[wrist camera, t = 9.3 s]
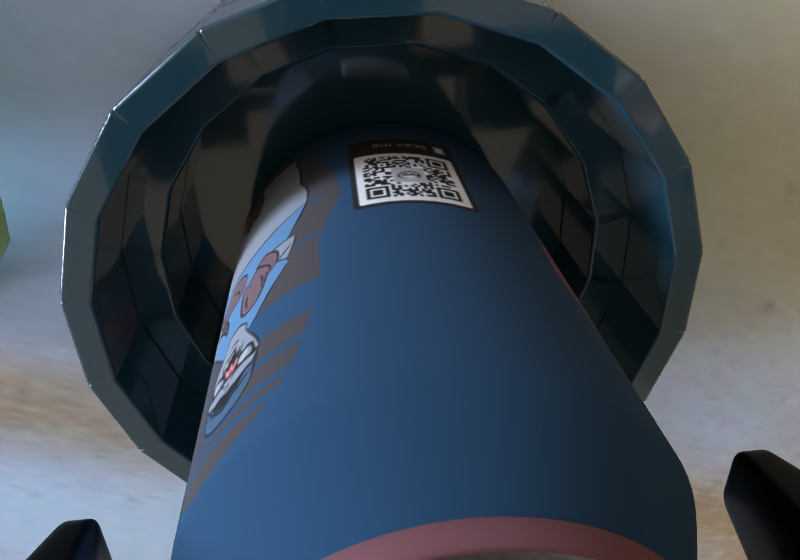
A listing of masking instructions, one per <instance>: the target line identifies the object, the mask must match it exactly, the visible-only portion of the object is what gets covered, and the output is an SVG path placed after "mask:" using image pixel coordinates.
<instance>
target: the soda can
mask: <svg viewBox="0 0 800 560" xmlns="http://www.w3.org/2000/svg"><path fill="white" fill-rule="evenodd" d="M171 560H697V522H696V509H695V502H694V497H693V492H692V488H691V485H690V482H689V479H688V476H687V474H686V471H685V469H684V467H683V465H682V463H681V461H680V460H679V458H678V456H677V455H676V453H675V452H674V450H673V448H672V447H671V445H670V444H669V442H668V441H667V439H666V437H665V436H664V434H663V433H662V431H661V430H660V428H659V426H658V425H657V423H656V422H655V420H654V418H653V417H652V415H651V414H650V412H649V411H648V409H647V407H646V406H645V404H644V403H643V401H642V400H641V398H640V396H639V395H638V393H637V392H636V390H635V389H634V387H633V385H632V384H631V382H630V381H629V379H628V377H627V376H626V374H625V373H624V371H623V370H622V368H621V366H620V365H619V363H618V362H617V360H616V359H615V357H614V355H613V354H612V352H611V351H610V349H609V348H608V346H607V344H606V343H605V341H604V340H603V338H602V336H601V335H600V333H599V332H598V330H597V329H596V327H595V325H594V324H593V322H592V321H591V319H590V318H589V316H588V314H587V313H586V311H585V310H584V308H583V306H582V305H581V303H580V302H579V300H578V299H577V297H576V295H575V294H574V292H573V291H572V289H571V288H570V286H569V284H568V283H567V281H566V280H565V278H564V277H563V275H562V273H561V272H560V270H559V269H558V267H557V265H556V264H555V262H554V261H553V259H552V258H551V256H550V254H549V253H548V251H547V250H546V248H545V247H544V245H543V243H542V242H541V240H540V239H539V237H538V236H537V234H536V232H535V231H534V229H533V228H532V226H531V224H530V223H529V221H528V220H527V218H526V217H525V215H524V213H523V212H522V210H521V209H520V207H519V206H518V204H517V202H516V201H515V199H514V198H513V196H512V195H511V193H510V191H509V190H508V188H507V187H506V185H505V183H504V182H503V180H502V179H501V178H500V176H499V175H498V174H497V173H496V171H495V170H494V169H493V168H492V167H491V166H490V165H489V164H488V163H487V162H486V161H485V160H484V159H483V158H482V157H480V156H479V155H478V154H476V153H475V152H474V151H473V150H471V149H470V148H468V147H466V146H465V145H463V144H462V143H460V142H458V141H456V140H454V139H452V138H450V137H448V136H445V135H443V134H441V133H438V132H435V131H432V130H428V129H424V128H420V127H415V126H409V125H399V124H376V125H366V126H359V127H355V128H350V129H346V130H343V131H340V132H336V133H333V134H331V135H328V136H326V137H323V138H321V139H319V140H317V141H315V142H313V143H311V144H310V145H308V146H306V147H305V148H303V149H301V150H300V151H299V152H297V153H296V154H294V155H293V156H292V157H290V158H289V159H288V160H287V161H286V162H284V163H283V164H282V165H281V166H280V167H279V168H278V169H277V170H276V171H275V172H274V173H273V175H272V176H271V177H270V178H269V179H268V180H267V182H266V183H265V185H264V186H263V187H262V189H261V190H260V192H259V193H258V195H257V197H256V198H255V200H254V202H253V204H252V206H251V209H250V211H249V214H248V216H247V219H246V222H245V226H244V229H243V234H242V238H241V243H240V247H239V252H238V256H237V261H236V265H235V270H234V275H233V279H232V284H231V288H230V293H229V297H228V302H227V306H226V311H225V315H224V320H223V324H222V329H221V333H220V338H219V342H218V347H217V351H216V356H215V360H214V365H213V369H212V374H211V378H210V383H209V387H208V392H207V396H206V401H205V405H204V410H203V414H202V419H201V423H200V428H199V432H198V437H197V441H196V446H195V450H194V455H193V459H192V464H191V468H190V473H189V477H188V482H187V486H186V491H185V495H184V500H183V504H182V509H181V513H180V518H179V522H178V527H177V531H176V536H175V540H174V545H173V550H172V556H171Z"/></svg>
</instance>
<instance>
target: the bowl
mask: <svg viewBox="0 0 800 560" xmlns="http://www.w3.org/2000/svg"><path fill="white" fill-rule="evenodd" d="M376 124H399V125H409V126H415V127H420V128H424V129H428V130H432V131H435V132H438V133H441V134H443V135H445V136H448V137H450V138H452V139H454V140H456V141H458V142H460V143H462V144H463V145H465V146H466V147H468V148H470V149H471V150H473V151H474V152H475V153H476V154H478V155H479V156H480V157H482V158H483V159H484V160H485V161H486V162H487V163H488V164H489V165H490V166H491V167H492V168H493V169H494V170H495V171H496V173H497V174H498V175H499V176H500V178H501V179H502V180H503V182H504V183H505V185H506V187H507V188H508V190H509V191H510V193H511V195H512V196H513V198H514V199H515V201H516V202H517V204H518V206H519V207H520V209H521V210H522V212H523V213H524V215H525V217H526V218H527V220H528V221H529V223H530V224H531V226H532V228H533V229H534V231H535V232H536V234H537V236H538V237H539V239H540V240H541V242H542V243H543V245H544V247H545V248H546V250H547V251H548V253H549V254H550V256H551V258H552V259H553V261H554V262H555V264H556V265H557V267H558V269H559V270H560V272H561V273H562V275H563V277H564V278H565V280H566V281H567V283H568V284H569V286H570V288H571V289H572V291H573V292H574V294H575V295H576V297H577V299H578V300H579V302H580V303H581V305H582V306H583V308H584V310H585V311H586V313H587V314H588V316H589V318H590V319H591V321H592V322H593V324H594V325H595V327H596V329H597V330H598V332H599V333H600V335H601V336H602V338H603V340H604V341H605V343H606V344H607V346H608V348H609V349H610V351H611V352H612V354H613V355H614V357H615V359H616V360H617V362H618V363H619V365H620V366H621V368H622V370H623V371H624V373H625V374H626V376H627V377H628V379H629V381H630V382H631V384H632V385H633V387H634V389H635V390H636V392H637V393H638V395H639V396H640V398H641V400H642V401H645V400H646V398H647V397H648V395H649V393H650V391H651V390H652V388H653V386H654V384H655V383H656V381H657V379H658V378H659V376H660V374H661V372H662V371H663V369H664V367H665V365H666V364H667V362H668V360H669V359H670V357H671V355H672V353H673V352H674V350H675V348H676V346H677V345H678V343H679V341H680V340H681V338H682V336H683V334H684V331H685V330H686V326H687V321H688V317H689V312H690V308H691V303H692V299H693V294H694V289H695V285H696V280H697V276H698V271H699V267H700V262H701V258H702V253H703V252H702V241H701V233H700V226H699V219H698V211H697V204H696V197H695V189H694V182H693V175H692V167H691V164H690V163H689V158H688V156H687V155H686V153H685V151H684V149H683V148H682V146H681V144H680V142H679V141H678V139H677V137H676V135H675V134H674V132H673V130H672V128H671V127H670V125H669V123H668V121H667V119H666V118H665V116H664V114H663V112H662V111H661V109H660V107H659V105H658V104H657V102H656V100H655V98H654V97H653V95H652V93H651V91H650V90H649V88H648V86H647V84H646V82H645V81H644V80H642V78H641V76H640V75H639V74H638V73H636V72H635V71H634V70H633V69H631V68H630V67H629V66H627V65H626V64H625V63H624V62H622V61H621V60H620V59H619V58H617V57H616V56H615V55H614V54H612V53H611V52H610V51H609V50H607V49H606V48H605V47H604V46H602V45H601V44H600V43H598V42H597V41H596V40H595V39H593V38H592V37H591V36H590V35H588V34H587V33H586V32H585V31H583V30H582V29H581V28H580V27H578V26H577V25H576V24H575V23H573V22H572V21H571V20H569V19H568V18H567V17H566V16H564V15H563V14H562V13H560V12H558V11H556V10H554V9H553V8H551V7H549V6H547V5H544V4H542V3H540V2H538V1H536V0H222V1H221V2H220V3H219V4H218V5H217V6H216V7H215V8H214V9H213V10H212V11H211V12H209V13H208V14H207V15H206V16H205V17H204V18H203V19H202V20H201V21H200V22H199V23H198V24H197V25H195V26H194V27H193V28H192V29H191V30H190V31H189V32H188V33H187V34H186V35H185V36H184V37H183V38H181V39H180V40H179V41H178V42H177V43H176V44H175V45H174V46H173V47H172V48H171V49H170V50H169V51H167V52H166V53H165V54H164V55H163V56H162V57H161V58H160V59H159V60H158V61H157V62H156V64H155V65H154V66H153V67H152V68H151V69H150V70H149V71H148V72H147V73H146V74H145V75H144V76H143V77H142V78H141V79H140V80H139V81H138V82H137V83H136V84H135V85H134V86H133V87H132V88H131V89H130V90H129V91H128V92H127V93H126V94H125V95H124V96H123V98H122V99H121V100H120V101H119V102H118V103H117V104H116V105H115V106H114V107H113V109H112V110H111V111H110V112H109V114H108V116H107V118H106V120H105V122H104V124H103V126H102V128H101V130H100V133H99V135H98V137H97V139H96V141H95V143H94V145H93V147H92V149H91V151H90V153H89V156H88V158H87V160H86V162H85V164H84V166H83V168H82V170H81V172H80V174H79V176H78V179H77V181H76V183H75V185H74V187H73V189H72V191H71V193H70V195H69V197H68V199H67V202H66V207H65V212H64V231H63V249H62V267H61V286H60V299H61V306H62V309H63V312H64V315H65V318H66V321H67V324H68V327H69V330H70V333H71V336H72V339H73V342H74V344H75V347H76V350H77V353H78V356H79V359H80V362H81V365H82V368H83V371H84V374H85V377H86V380H87V383H88V384H89V386H90V388H91V389H92V391H93V392H94V393H95V394H96V396H97V397H98V398H99V399H100V401H101V402H102V403H103V405H104V406H105V407H106V408H107V410H108V411H109V412H110V413H111V415H112V416H113V417H114V418H115V420H116V421H117V422H118V423H119V425H120V426H121V427H122V428H123V430H124V431H125V432H126V433H127V435H128V436H129V437H130V439H131V440H132V441H133V442H134V444H135V445H136V446H137V447H138V449H140V450H141V451H142V452H143V453H144V454H146V455H147V456H149V457H150V458H151V459H153V460H154V461H156V462H157V463H159V464H160V465H162V466H163V467H165V468H166V469H168V470H169V471H170V472H172V473H173V474H175V475H176V476H178V477H179V478H181V479H182V480H184V481H185V482H188V477H189V473H190V468H191V464H192V459H193V455H194V450H195V446H196V441H197V437H198V432H199V428H200V423H201V419H202V414H203V410H204V405H205V401H206V396H207V392H208V387H209V383H210V378H211V374H212V369H213V365H214V360H215V356H216V351H217V347H218V342H219V338H220V333H221V329H222V324H223V320H224V315H225V311H226V306H227V302H228V297H229V293H230V288H231V284H232V279H233V275H234V270H235V265H236V261H237V256H238V252H239V247H240V243H241V238H242V234H243V229H244V226H245V222H246V219H247V216H248V214H249V211H250V209H251V206H252V204H253V202H254V200H255V198H256V197H257V195H258V193H259V192H260V190H261V189H262V187H263V186H264V185H265V183H266V182H267V180H268V179H269V178H270V177H271V176H272V175H273V173H274V172H275V171H276V170H277V169H278V168H279V167H280V166H281V165H282V164H283V163H284V162H286V161H287V160H288V159H289V158H290V157H292V156H293V155H294V154H296V153H297V152H299V151H300V150H301V149H303V148H305V147H306V146H308V145H310V144H311V143H313V142H315V141H317V140H319V139H321V138H323V137H326V136H328V135H331V134H333V133H336V132H340V131H343V130H346V129H350V128H355V127H359V126H366V125H376Z"/></svg>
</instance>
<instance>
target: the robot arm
mask: <svg viewBox="0 0 800 560" xmlns="http://www.w3.org/2000/svg"><path fill="white" fill-rule="evenodd" d="M724 503H725V507H726V509H727V512H728V514H729V516H730V519H731V521H732V523H733V526H734V528H735V530H736V533H737V535H738V537H739V540H740V542H741V545H742V547H743V549H744V552H745V554H746V556H747V559H748V560H800V469H798V468H796V467H795V466H793V465H791V464H790V463H788V462H787V461H785V460H783V459H782V458H780V457H778V456H777V455H775V454H773V453H771V452H769V451H767V450H753V451H743V452H739V453H738V454H737V455H736V456H735V457H734V459H733V462H732V465H731V469H730V472H729V475H728V479H727V482H726V485H725V489H724ZM26 560H112V558H111V555H110V552H109V550H108V547H107V544H106V542H105V539H104V537H103V534H102V531H101V529H100V526H99V524H98V522H97V521H95V520H94V519H83V520H73V521H66V522H64V523H62V524H61V525H59V526H58V527H57V528H56V529H55V530H54V531H53V532H52V533H51V534H50V535H49V536H48V537H47V538H46V539H45V540H44V541H43V542H42V543H41V545H40V546H39V547H38V548H37V549H36V550H35V551H34V552H33V553H32V554H31V555H30V556H29V557H28V558H27V559H26Z"/></svg>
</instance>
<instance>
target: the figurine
mask: <svg viewBox="0 0 800 560" xmlns="http://www.w3.org/2000/svg"><path fill="white" fill-rule="evenodd" d="M9 242H10V236H9V231H8V226H7V221H6V216H5V212H4V208H3V204H2V200H1V198H0V261H1V259H2V257H3V255H4V253H5V250H6V248H7V246H8V244H9Z"/></svg>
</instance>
